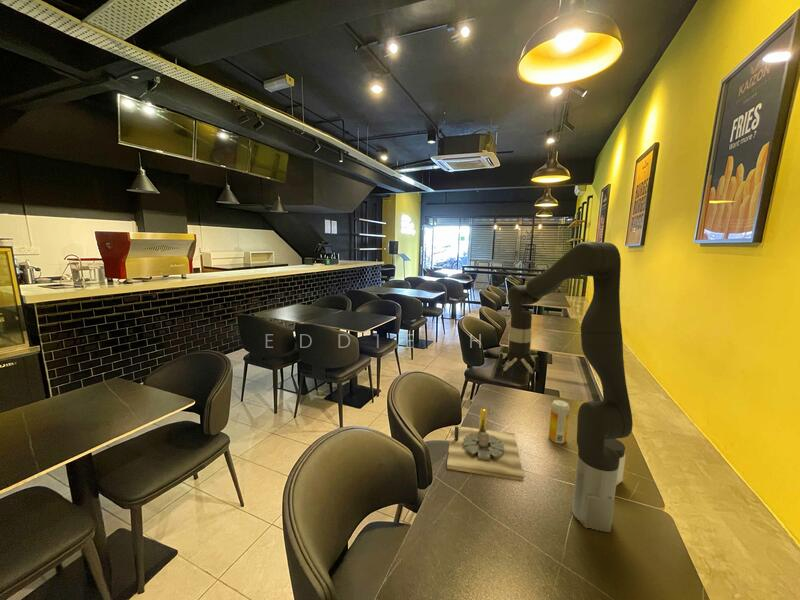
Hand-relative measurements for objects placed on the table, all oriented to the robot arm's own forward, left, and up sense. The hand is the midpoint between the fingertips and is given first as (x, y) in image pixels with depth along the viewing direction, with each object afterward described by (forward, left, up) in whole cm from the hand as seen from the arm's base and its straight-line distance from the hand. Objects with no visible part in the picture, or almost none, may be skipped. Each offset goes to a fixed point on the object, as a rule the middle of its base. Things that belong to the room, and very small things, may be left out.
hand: (516, 380), depth 119 cm
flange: (-10, +12, -21) cm, 26 cm away
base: (-12, +12, -23) cm, 29 cm away
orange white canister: (+2, -16, -23) cm, 29 cm away
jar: (-16, -26, -23) cm, 39 cm away
